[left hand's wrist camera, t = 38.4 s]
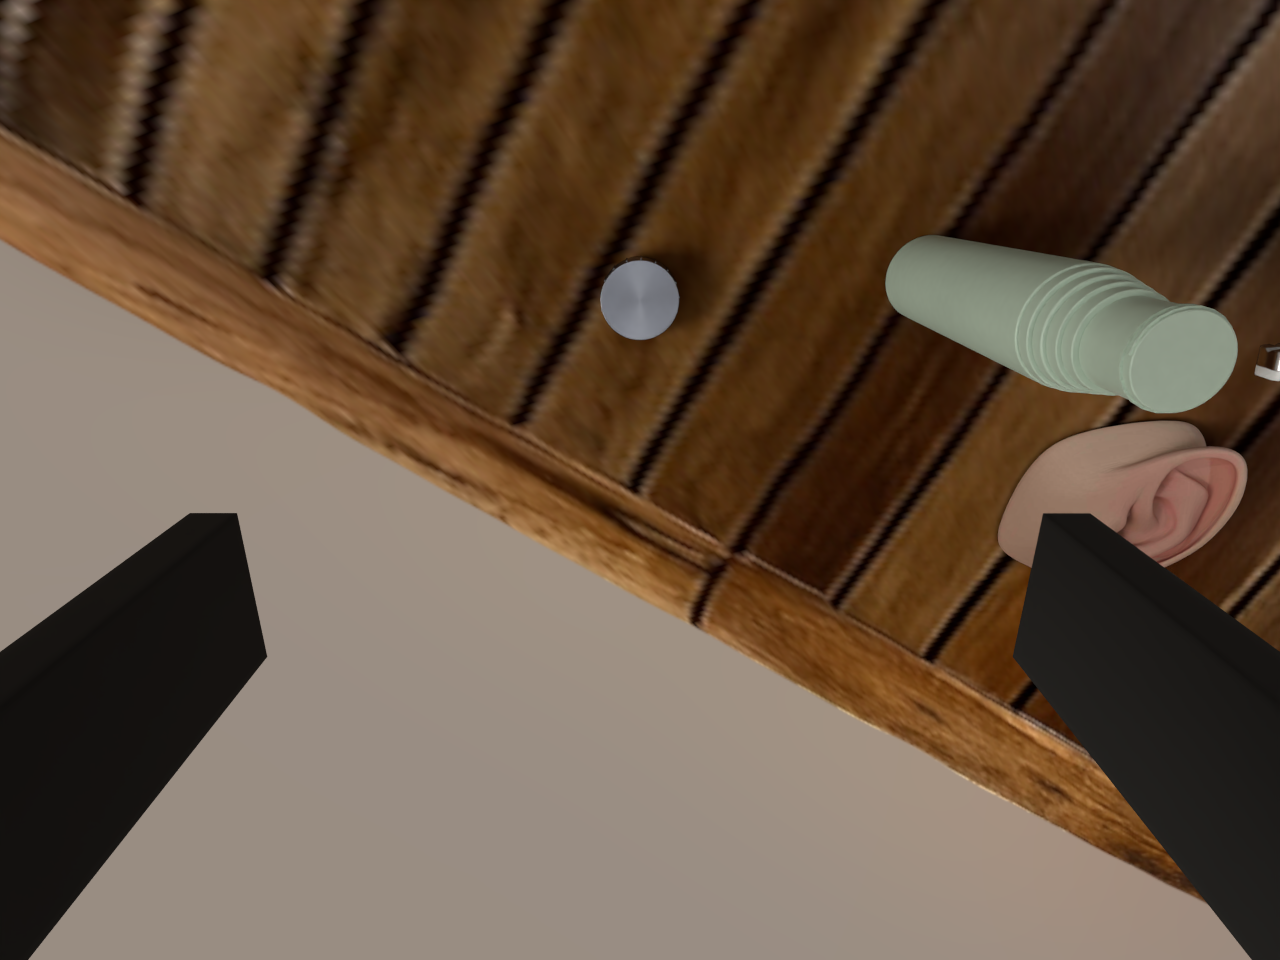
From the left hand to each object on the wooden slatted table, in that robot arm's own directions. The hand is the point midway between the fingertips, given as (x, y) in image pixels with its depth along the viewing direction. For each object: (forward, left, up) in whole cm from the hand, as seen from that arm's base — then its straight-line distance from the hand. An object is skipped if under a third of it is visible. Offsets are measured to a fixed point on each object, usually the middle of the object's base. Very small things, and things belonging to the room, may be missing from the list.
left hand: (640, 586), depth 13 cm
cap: (0, 0, -34) cm, 34 cm away
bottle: (-9, +15, -36) cm, 40 cm away
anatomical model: (-2, +34, -36) cm, 49 cm away
